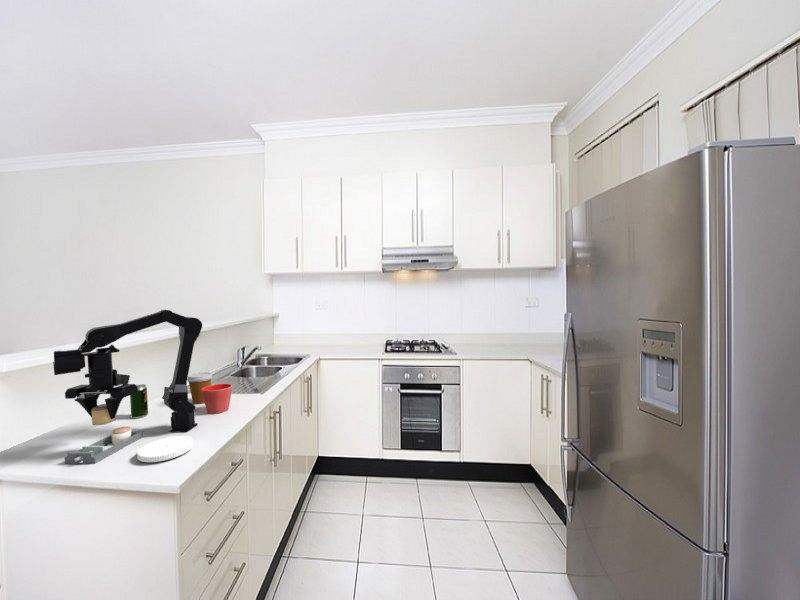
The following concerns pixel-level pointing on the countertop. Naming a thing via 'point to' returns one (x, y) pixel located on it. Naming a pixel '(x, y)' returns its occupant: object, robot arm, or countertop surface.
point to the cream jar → (120, 434)
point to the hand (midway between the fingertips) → (103, 418)
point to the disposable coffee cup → (198, 385)
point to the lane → (91, 459)
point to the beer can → (139, 403)
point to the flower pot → (217, 397)
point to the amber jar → (101, 415)
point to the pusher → (91, 450)
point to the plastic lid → (165, 449)
